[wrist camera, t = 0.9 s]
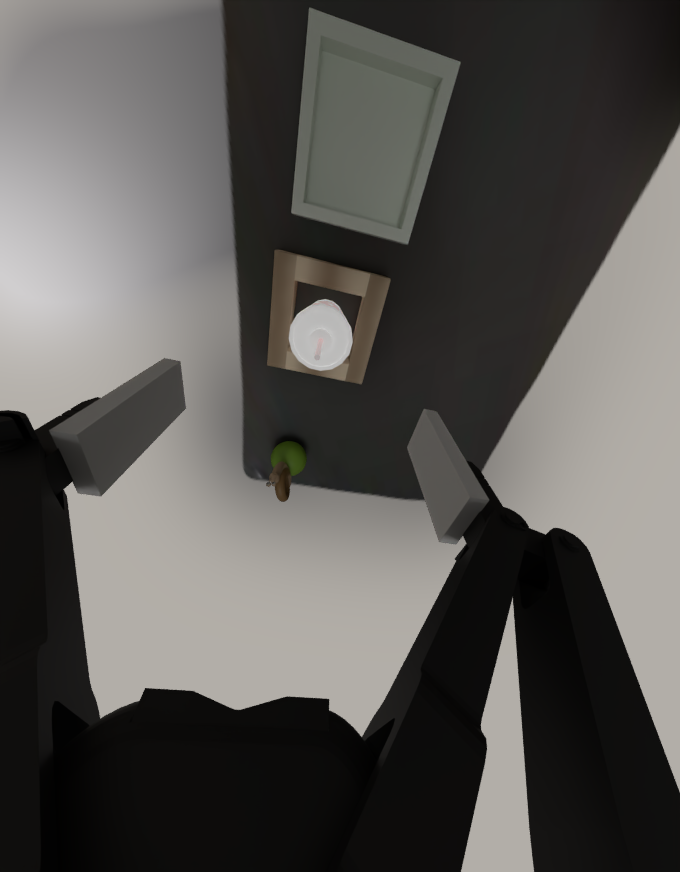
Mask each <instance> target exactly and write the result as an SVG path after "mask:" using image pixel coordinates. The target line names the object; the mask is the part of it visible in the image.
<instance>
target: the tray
mask: <svg viewBox="0 0 680 872" xmlns="http://www.w3.org/2000/svg"><path fill="white" fill-rule="evenodd" d="M460 63H461V62H459V61H457V60H454V59H451V58H448V57H445V56H443V55H440V54H437V53H434V52H432V51H429V50H426V49H423V48H420V47H418V46H415V45H412V44H409V43H407V42H404V41H401V40H398V39H395V38H393V37H390V36H387V35H384V34H382V33H379V32H376V31H373V30H370V29H368V28H365V27H362V26H359V25H357V24H354V23H351V22H348V21H345V20H343V19H340V18H337V17H334V16H332V15H329V14H326V13H323V12H320V11H318V10H315V9H312V8H309V17H308V29H307V40H306V51H305V63H304V74H303V85H302V97H301V108H300V119H299V131H298V142H297V153H296V165H295V176H294V187H293V199H292V210H291V213H292V214H293V215H295V216H298V217H302V218H306V219H310V220H313V221H317V222H321V223H324V224H328V225H332V226H336V227H339V228H343V229H347V230H351V231H354V232H358V233H362V234H365V235H369V236H373V237H377V238H380V239H384V240H388V241H392V242H395V243H399V244H403V245H405V244H408V242H409V239H410V235H411V232H412V228H413V225H414V222H415V218H416V215H417V211H418V208H419V204H420V201H421V197H422V194H423V191H424V187H425V184H426V180H427V177H428V173H429V170H430V166H431V163H432V160H433V156H434V153H435V149H436V146H437V142H438V139H439V135H440V132H441V128H442V125H443V122H444V118H445V115H446V111H447V108H448V104H449V101H450V97H451V94H452V91H453V87H454V84H455V80H456V77H457V73H458V70H459V66H460Z"/></svg>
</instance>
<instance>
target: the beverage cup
mask: <svg viewBox="0 0 680 872" xmlns="http://www.w3.org/2000/svg"><path fill="white" fill-rule="evenodd" d="M289 342H290V346H291V350H292V352H293V354H294V355H295V356H296V358H297V359H298V361H299V362H301V363H302V364H304V365H305V366H306V367H308V368H311V369H315V370H319V371H323V370H331V369H333V368H335V367H337V366H339V365H340V364H342V363H343V362H344V360H345V359H346V358H347V356H348V355H349V354H350V350H351V347H352V343H353V340H352V331H351V327H350V325H349V323H348V321H347V319H346V318H345V316H344V315H343V313H342V311H341V309H340V307H339V306H338V305H337V304H336V303H334V302H333V301H330V300H326V299H324V300H318V301H317V302H315V303H314V304H312V305H311V306H308V307H307V308H305V309H304V310H302V311H301V312H299V313H298V314H297V316H296V317H295V319H294V321H293V322H292V324H291V326H290V332H289Z"/></svg>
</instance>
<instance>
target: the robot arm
mask: <svg viewBox="0 0 680 872" xmlns="http://www.w3.org/2000/svg"><path fill="white" fill-rule="evenodd" d="M180 364H181V363H180V361H176V360H171V359H165V358H164V359H163V360H161V361H159V362H158V363H156V364H154V365H153V366H151V367H150V368H148V369H146V370H145V371H143V372H142V373H140V374H139V375H137V376H135V377H134V378H132V379H131V380H129V381H128V382H126V383H124V384H123V385H121V386H120V387H118V388H116V389H115V390H113V391H111V392H110V393H108V394H107V395H105V396H103V397H102V398H98V397H97V398H93V399H91V400H87V401H84V402H81V403H80V404H78V405H76V406H75V407H73V408H72V409H71V410H68V411H66V412H65V413H63V414H62V416H58V417H56V418H55V419H53V420H51V421H50V422H48V423H46V424H45V425H43V426H41V427H40V428H38V429H36V430H34V429H33V427H32V425H31V423H30V421H29V419H28V417H27V416H26V414H24V413H21V412H18V411H9V410H7V411H0V872H461V869H462V864H463V859H464V855H465V850H466V846H467V841H468V837H469V832H470V828H471V823H472V819H473V814H474V810H475V805H476V801H477V796H478V791H479V786H480V782H481V778H482V773H483V769H484V765H485V759H486V751H487V744H486V738H485V736H484V735H483V733H482V731H481V720H482V716H483V712H484V708H485V704H486V700H487V696H488V691H489V688H490V684H491V680H492V676H493V672H494V668H495V664H496V660H497V656H498V652H499V648H500V644H501V640H502V636H503V632H504V629H505V625H506V621H507V617H508V613H509V609H510V605H511V601H512V597H513V605H514V619H515V633H516V647H517V659H518V660H517V661H518V674H519V688H520V703H521V717H522V731H523V744H524V758H525V772H526V786H527V800H528V815H529V828H530V838H531V847H532V856H533V865H534V872H680V792H679V789H678V787H677V784H676V781H675V779H674V776H673V773H672V771H671V768H670V765H669V763H668V760H667V757H666V755H665V752H664V749H663V746H662V744H661V741H660V739H659V736H658V733H657V730H656V728H655V725H654V723H653V720H652V717H651V715H650V712H649V709H648V707H647V704H646V701H645V699H644V696H643V693H642V690H641V688H640V685H639V682H638V680H637V677H636V675H635V672H634V669H633V666H632V664H631V661H630V658H629V656H628V653H627V650H626V648H625V645H624V642H623V640H622V637H621V635H620V632H619V629H618V626H617V624H616V621H615V618H614V616H613V613H612V610H611V608H610V605H609V603H608V600H607V597H606V594H605V592H604V589H603V586H602V584H601V581H600V578H599V576H598V573H597V571H596V568H595V565H594V562H593V560H592V557H591V554H590V552H589V550H588V549H587V547H586V546H585V545H584V544H583V542H582V541H581V540H580V539H579V538H578V537H576V536H575V535H573V534H571V533H569V532H567V531H566V530H563V529H560V528H553V529H552V530H550V531H549V532H548V533H547V534H546V535H545V534H543V533H540V532H538V531H535V530H532V529H530V528H529V526H528V525H527V523H526V521H525V520H524V519H523V518H522V517H521V516H520V515H518V514H517V513H516V512H514V511H512V510H510V509H508V508H505V507H503V506H502V504H501V503H500V501H499V500H498V498H497V497H496V495H495V493H494V492H493V490H492V489H491V487H490V486H489V484H488V482H487V481H486V479H484V476H483V474H482V473H481V471H480V470H479V469H478V468H477V467H476V466H475V465H474V464H473V463H472V462H469V461H466V460H465V458H464V457H463V455H462V453H461V452H460V450H459V448H458V447H457V445H456V443H455V442H454V440H453V438H452V436H451V435H450V433H449V431H448V430H447V428H446V426H445V425H444V423H443V421H442V420H441V418H440V416H439V415H438V413H437V412H436V411H431V410H426V409H424V410H423V412H422V415H421V417H420V419H419V421H418V424H417V426H416V428H415V431H414V433H413V435H412V437H411V440H410V442H409V444H408V446H407V449H408V452H409V454H410V457H411V460H412V463H413V466H414V469H415V472H416V475H417V478H418V481H419V484H420V487H421V490H422V493H423V496H424V499H425V502H426V504H427V507H428V510H429V513H430V516H431V519H432V522H433V525H434V528H435V531H436V534H437V537H438V540H439V542H443V543H450V544H457V543H458V541H459V540H460V538H461V537H462V536H464V539H465V541H466V543H467V544H466V545H465V546H464V548H463V549H462V550H461V552H460V553H459V554H458V555H457V557H456V558H455V560H456V563H455V565H454V567H453V569H452V570H451V572H450V574H449V576H448V578H447V580H446V582H445V584H444V586H443V588H442V590H441V592H440V594H439V596H438V598H437V600H436V601H435V603H434V605H433V607H432V609H431V611H430V613H429V615H428V617H427V619H426V621H425V623H424V625H423V627H422V629H421V630H420V632H419V634H418V636H417V638H416V640H415V642H414V644H413V646H412V648H411V650H410V652H409V654H408V656H407V658H406V660H405V661H404V663H403V666H402V667H401V669H400V671H399V673H398V675H397V677H396V679H395V681H394V683H393V685H392V687H391V689H390V691H389V692H388V694H387V696H386V698H385V700H384V702H383V703H382V705H381V707H380V708H379V709H378V711H377V712H376V714H375V715H374V717H373V719H372V720H371V722H370V724H369V726H368V727H367V729H366V731H365V733H364V735H363V736H362V737H361V736H360V735H359V733H358V732H357V731H356V730H355V729H354V728H353V727H352V726H351V725H350V724H349V723H348V722H347V721H346V720H345V719H343V718H342V717H340V716H339V715H337V714H336V713H333V712H332V711H329V699H320V698H304V697H283V698H280V699H277V700H273V701H270V702H266V703H263V704H259V705H256V706H252V707H249V708H245V709H242V710H234V709H232V708H229V707H227V706H225V705H223V704H220V703H218V702H216V701H214V700H212V699H210V698H207V697H205V696H203V695H201V694H199V693H196V692H194V691H185V690H168V689H149V688H145V690H144V692H143V695H142V697H141V699H140V701H138V702H134V703H132V704H129V705H127V706H124V707H121V708H119V709H117V710H115V711H113V712H112V713H110V714H108V715H106V716H104V717H102V718H101V719H100V715H99V710H98V706H97V702H96V699H95V696H94V694H93V691H92V688H91V684H90V679H89V672H88V665H87V656H86V648H85V640H84V632H83V624H82V616H81V608H80V600H79V591H78V583H77V575H76V567H75V559H74V551H73V543H72V535H71V526H70V519H69V510H68V502H67V496H66V494H65V492H64V490H63V489H64V488H66V487H67V486H68V485H69V484H70V483H71V482H72V481H73V484H74V486H75V488H76V490H77V492H78V493H80V494H87V495H95V496H102V495H103V494H104V493H105V492H106V491H107V490H108V489H109V488H110V487H111V485H112V484H113V483H114V482H115V481H116V480H117V479H118V478H119V477H120V476H121V475H122V474H123V473H124V472H125V471H126V470H127V469H128V468H129V467H130V466H131V465H132V464H133V463H134V462H135V461H136V459H137V458H138V457H139V456H140V455H141V454H142V453H143V452H144V451H145V450H146V449H147V448H148V447H149V446H150V445H151V444H152V443H153V442H154V441H155V440H156V439H157V438H158V436H160V435H161V434H162V432H163V431H164V430H165V429H166V428H167V427H168V426H169V425H170V424H171V423H172V422H173V421H174V420H175V419H176V418H177V417H178V416H179V415H180V414H181V413H182V412H183V411H184V410H185V409H186V406H185V397H184V389H183V380H182V372H181V365H180Z"/></svg>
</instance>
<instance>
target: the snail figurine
mask: <svg viewBox="0 0 680 872" xmlns="http://www.w3.org/2000/svg"><path fill="white" fill-rule="evenodd" d="M306 460H307V457H306V452H305V450H304V449H303V447H302V446H301V445H299V444H298V443H296V442H293V441H285V442H282V443H280V444H278V445H277V446H276V447H275V448H274V450H273V452H272V454H271V464H272V466H273V468H274V469H273V471H272V473H271V474H270V477H269V479H270V480H269V482H267V483H266V485H267V486H268V487H269V486H270V485H271V483H270V481H271V482H272V486H275V491H276V495H277V498H278V499H279V500H280V501H282V502H284V501H286V500H287V499H288V497H289V493H290V485H291V476H294V475H297V474H298V473H300V472H301V471H302V470H303V468H304V467H305V465H306Z"/></svg>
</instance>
